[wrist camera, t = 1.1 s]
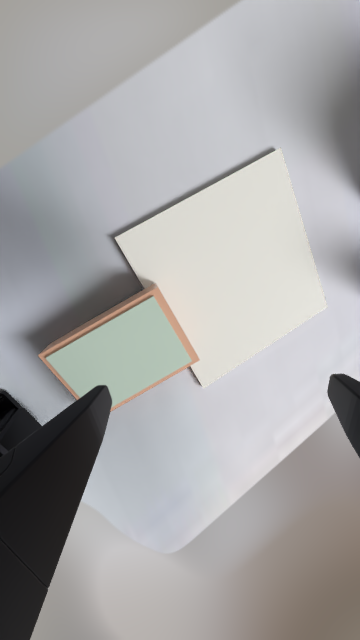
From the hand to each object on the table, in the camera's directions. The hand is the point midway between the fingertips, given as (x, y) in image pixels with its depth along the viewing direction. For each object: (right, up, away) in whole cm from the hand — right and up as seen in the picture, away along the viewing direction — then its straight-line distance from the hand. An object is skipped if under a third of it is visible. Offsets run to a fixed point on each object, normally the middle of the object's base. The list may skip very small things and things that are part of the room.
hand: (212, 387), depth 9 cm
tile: (-1, +3, +9) cm, 10 cm away
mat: (+4, +7, +12) cm, 14 cm away
